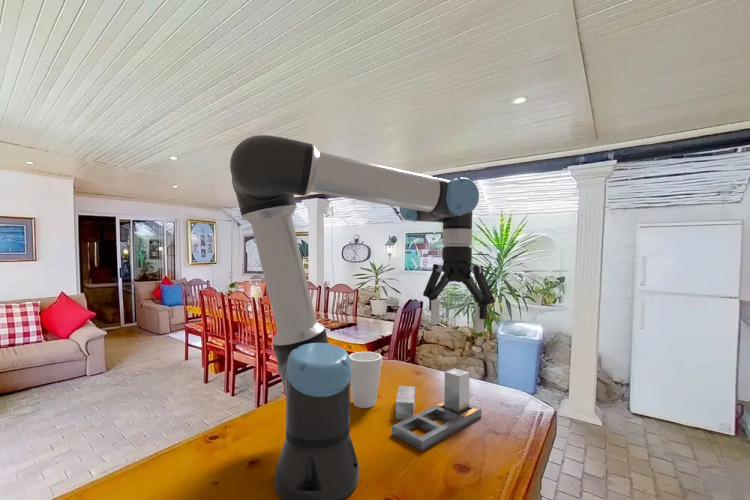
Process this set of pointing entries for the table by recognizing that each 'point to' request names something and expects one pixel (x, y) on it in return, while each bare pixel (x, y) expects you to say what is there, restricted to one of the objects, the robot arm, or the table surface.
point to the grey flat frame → (433, 425)
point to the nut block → (405, 402)
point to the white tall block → (456, 391)
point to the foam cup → (365, 378)
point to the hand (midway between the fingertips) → (455, 327)
